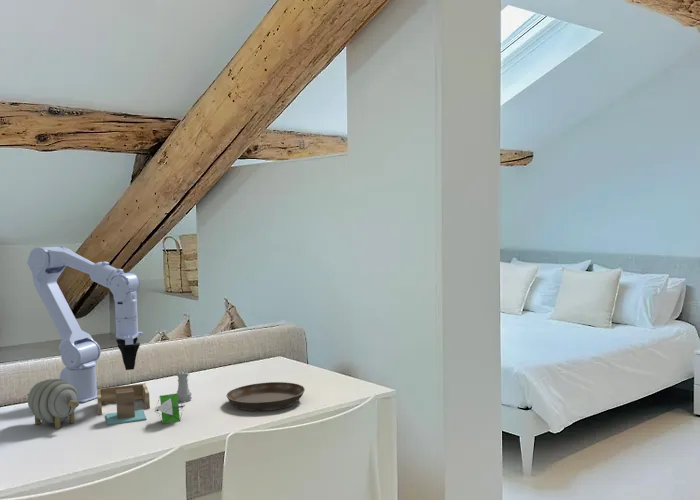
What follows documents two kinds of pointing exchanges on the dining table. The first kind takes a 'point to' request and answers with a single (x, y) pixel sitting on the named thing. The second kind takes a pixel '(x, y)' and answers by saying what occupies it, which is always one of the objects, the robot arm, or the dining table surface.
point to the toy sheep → (53, 401)
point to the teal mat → (114, 419)
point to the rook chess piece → (183, 387)
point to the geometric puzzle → (169, 408)
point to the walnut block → (125, 403)
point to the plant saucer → (265, 396)
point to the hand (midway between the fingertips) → (128, 366)
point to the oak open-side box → (110, 393)
